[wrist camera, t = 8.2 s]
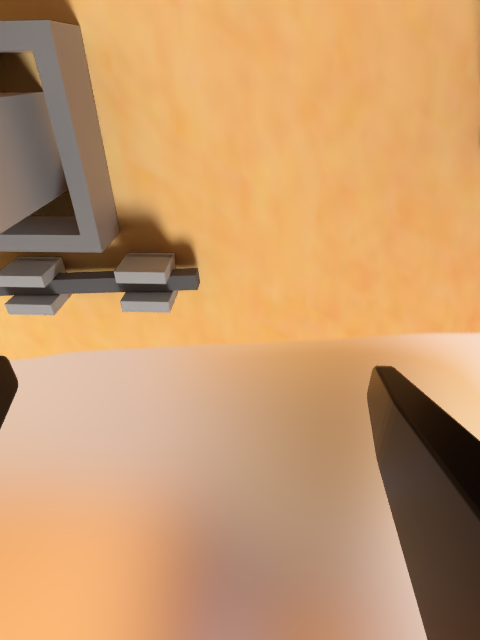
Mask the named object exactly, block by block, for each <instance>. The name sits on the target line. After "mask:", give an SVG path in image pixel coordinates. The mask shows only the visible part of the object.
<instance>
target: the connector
mask: <svg viewBox="0 0 480 640" xmlns="http://www.w3.org/2000/svg"><path fill="white" fill-rule="evenodd" d="M68 190H69V189H68V185H67V181H66V177H65V174H64V170H63V166H62V162H61V158H60V154H59V150H58V146H57V142H56V139H55V135H54V131H53V127H52V123H51V119H50V115H49V111H48V107H47V104H46V100H45V96H44V92H10V93H0V234H1V233H2V232H4V231H5V230H7V229H9V228H10V227H12V226H13V225H15V224H16V223H18V222H20V221H21V220H23V219H24V218H26V217H27V216H29V215H30V214H32V213H34V212H35V211H37V210H38V209H40V208H41V207H43V206H45V205H46V204H48V203H49V202H51V201H52V200H54V199H56V198H57V197H59V196H60V195H62V194H63V193H65V192H67V191H68Z"/></svg>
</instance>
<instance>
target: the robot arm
mask: <svg viewBox="0 0 480 640" xmlns="http://www.w3.org/2000/svg"><path fill="white" fill-rule="evenodd" d="M17 388H18V380H17V377H16V375H15V373H14V371H13V368H12V366H11V364H10V362H9V360H8V359H7V358H6V357H5V356H0V428H1V426H2V424H3V422H4V419H5V417H6V415H7V412H8V410H9V408H10V405H11V403H12V401H13V399H14V396H15V394H16V392H17ZM367 400H368V407H369V414H370V420H371V426H372V432H373V439H374V446H375V451H376V457H377V462H378V466H379V470H380V473H381V477H382V480H383V484H384V487H385V491H386V494H387V498H388V501H389V505H390V508H391V512H392V516H393V519H394V523H395V526H396V530H397V533H398V537H399V540H400V544H401V547H402V551H403V554H404V558H405V561H406V565H407V569H408V572H409V576H410V579H411V583H412V586H413V590H414V593H415V597H416V600H417V604H418V607H419V611H420V615H421V618H422V622H423V625H424V629H425V632H426V636H427V639H428V640H480V441H479V440H478V439H477V438H476V437H475V436H473V435H472V434H471V433H470V432H469V431H467V430H466V429H465V428H464V427H463V426H462V425H461V424H459V423H458V422H457V421H456V420H455V419H454V418H452V417H451V416H450V415H449V414H448V413H446V412H445V411H444V410H443V409H442V408H441V407H440V406H438V405H437V404H436V403H435V402H434V401H433V400H431V399H430V398H429V397H428V396H427V395H425V394H424V393H423V392H422V391H421V390H420V389H418V388H417V387H416V386H415V385H414V384H413V383H411V382H410V381H409V380H408V379H407V378H406V377H404V376H403V375H402V374H401V373H400V372H399V371H397V370H396V369H395V368H394V367H392V366H375V367H374V368H373V370H372V374H371V378H370V383H369V387H368V392H367Z"/></svg>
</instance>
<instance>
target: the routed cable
mask: <svg viewBox="0 0 480 640" xmlns="http://www.w3.org/2000/svg"><path fill="white" fill-rule="evenodd" d="M199 283H200V279H199V272H198V268H187V269H176V265H175V257H174V253H127V255H126V256H125V257H124V259H123V260H122V261H121V263H120V264H119V265H118V267H117V268H116V269H115V271H102V272H73V273H66V270H65V267H64V263H63V260H62V257H16V258H15V259H14V260H13V261H11V262H10V263H9V264H7V265H6V266H5V267H4V268H2V269H1V270H0V296H5V295H14V296H13V297H12V298H11V299H10V300H9V301H8V302H7V303H5V306H6V309H7V311H8V313H9V314H23V315H55V314H56V312H57V311H58V310H59V309H60V308H61V307H62V305H63V304H64V303H65V302H66V301H67V299H68V298H69V297H70V296H71V295H72V293H105V292H126V293H125V294H124V296H123V298H122V299H121V301H120V303H121V307H122V312H169V313H170V311H171V309H172V306H173V303H174V301H175V298H176V296H177V293H178V291H179V290H198V287H199Z"/></svg>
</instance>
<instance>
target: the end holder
mask: <svg viewBox="0 0 480 640" xmlns="http://www.w3.org/2000/svg"><path fill="white" fill-rule="evenodd" d="M0 53H34V57H35V61H36V65H37V69H38V72H39V76H40V80H41V84H42V88H43V92H44V96H45V100H46V104H47V107H48V111H49V115H50V119H51V123H52V127H53V131H54V135H55V139H56V142H57V146H58V150H59V154H60V158H61V162H62V166H63V170H64V174H65V177H66V181H67V185H68V189H69V193H70V197H71V201H72V205H73V209H74V212H75V216H27V217H26V218H24V219H23V220H21V221H20V222H18V223H16V224H15V225H13V226H12V227H10V228H9V229H7V230H5V231H4V232H2V233H1V234H0V251H5V252H98V253H102V252H103V251H104V250H105V249H106V248H107V247H108V245H109V244H110V243H111V242H112V241H113V240H114V239H115V237H116V236H117V235H118V234H119V233H120V229H119V224H118V218H117V213H116V208H115V203H114V198H113V193H112V188H111V183H110V178H109V173H108V167H107V162H106V157H105V152H104V147H103V142H102V137H101V132H100V127H99V122H98V116H97V111H96V106H95V101H94V96H93V91H92V86H91V81H90V76H89V71H88V65H87V60H86V55H85V50H84V45H83V40H82V35H81V30H80V26H78V25H72V24H67V23H62V22H57V21H52V20H28V21H0Z"/></svg>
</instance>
